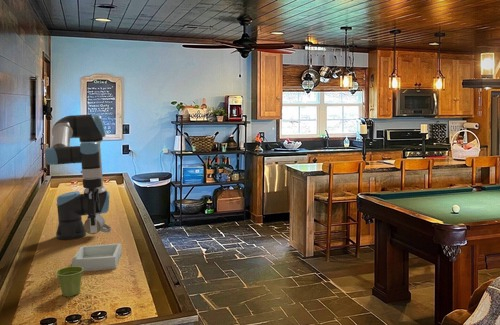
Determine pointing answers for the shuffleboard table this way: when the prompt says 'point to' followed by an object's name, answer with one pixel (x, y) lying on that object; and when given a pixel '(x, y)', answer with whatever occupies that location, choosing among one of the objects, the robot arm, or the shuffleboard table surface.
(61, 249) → the shuffleboard table surface
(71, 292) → the plant pot
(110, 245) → the bin
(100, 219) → the ceramic mug
